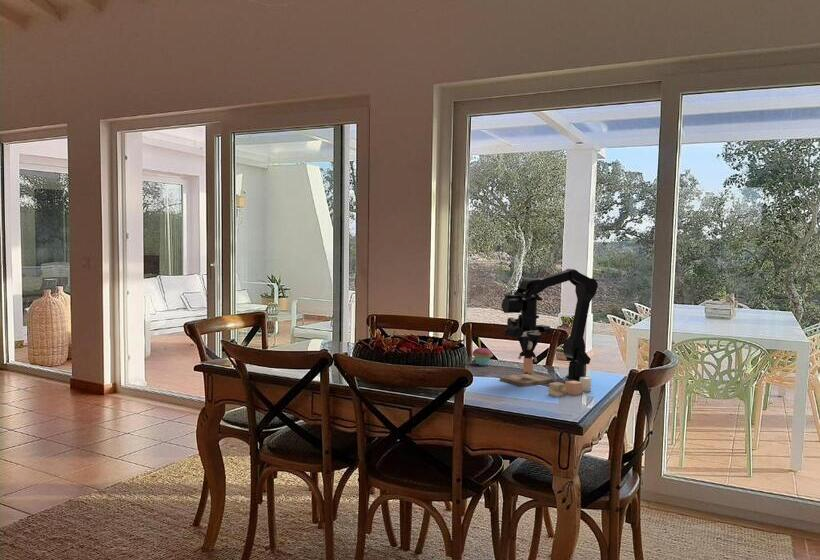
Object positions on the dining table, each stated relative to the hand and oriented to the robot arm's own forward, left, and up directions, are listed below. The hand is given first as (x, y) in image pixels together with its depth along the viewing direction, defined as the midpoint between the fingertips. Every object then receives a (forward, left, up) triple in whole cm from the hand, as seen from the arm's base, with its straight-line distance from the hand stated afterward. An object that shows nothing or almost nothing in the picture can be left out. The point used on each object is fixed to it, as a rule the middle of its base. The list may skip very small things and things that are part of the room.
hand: (527, 353), depth 247 cm
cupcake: (-5, -33, -11) cm, 35 cm away
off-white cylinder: (-9, +21, -11) cm, 25 cm away
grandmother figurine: (0, 0, -8) cm, 8 cm away
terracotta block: (-2, +22, -11) cm, 25 cm away
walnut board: (0, 0, -11) cm, 11 cm away
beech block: (+5, +21, -11) cm, 24 cm away
